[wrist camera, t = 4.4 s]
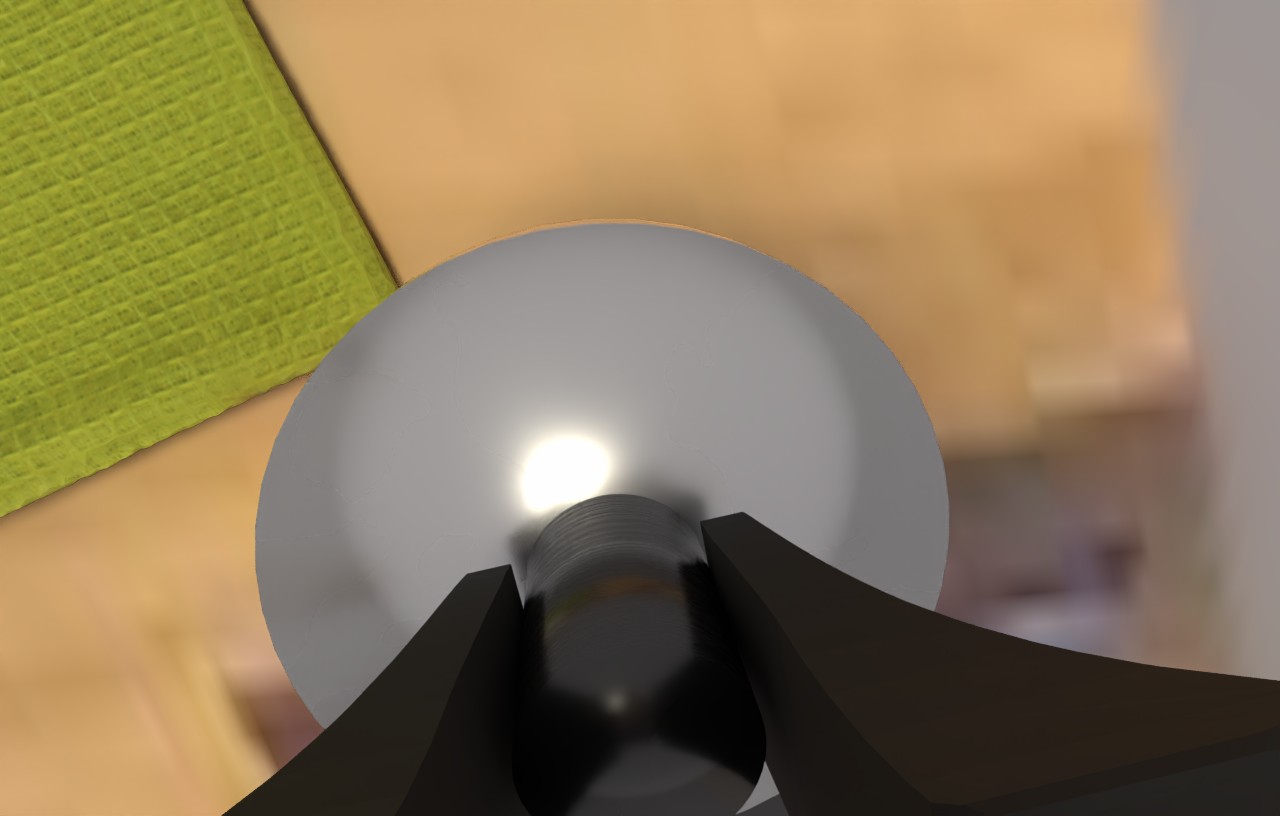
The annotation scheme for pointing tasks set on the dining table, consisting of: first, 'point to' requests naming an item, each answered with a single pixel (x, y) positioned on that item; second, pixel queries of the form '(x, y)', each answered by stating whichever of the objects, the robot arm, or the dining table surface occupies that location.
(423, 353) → the lid
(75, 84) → the dish towel
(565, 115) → the dining table surface
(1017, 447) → the dining table surface
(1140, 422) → the dining table surface
